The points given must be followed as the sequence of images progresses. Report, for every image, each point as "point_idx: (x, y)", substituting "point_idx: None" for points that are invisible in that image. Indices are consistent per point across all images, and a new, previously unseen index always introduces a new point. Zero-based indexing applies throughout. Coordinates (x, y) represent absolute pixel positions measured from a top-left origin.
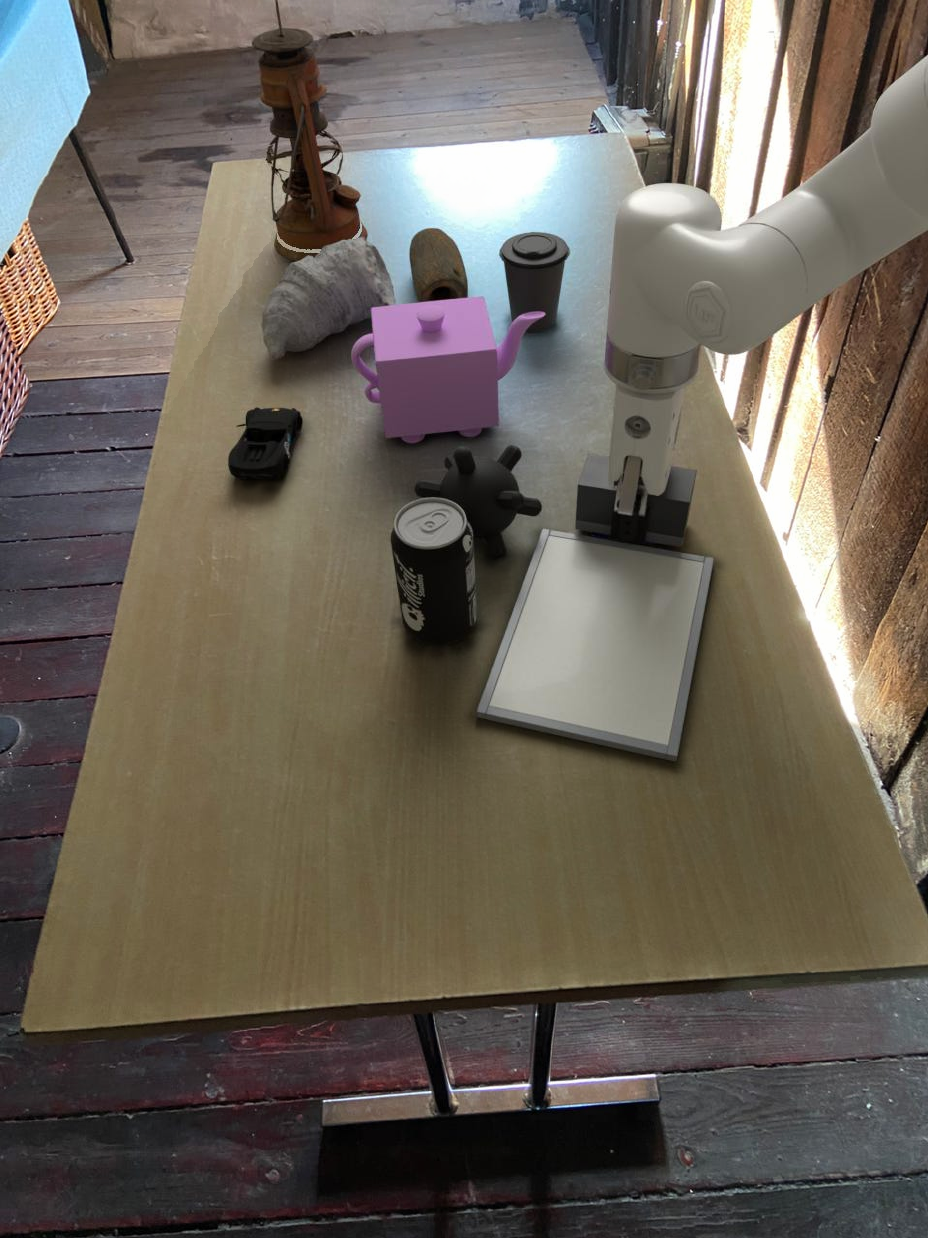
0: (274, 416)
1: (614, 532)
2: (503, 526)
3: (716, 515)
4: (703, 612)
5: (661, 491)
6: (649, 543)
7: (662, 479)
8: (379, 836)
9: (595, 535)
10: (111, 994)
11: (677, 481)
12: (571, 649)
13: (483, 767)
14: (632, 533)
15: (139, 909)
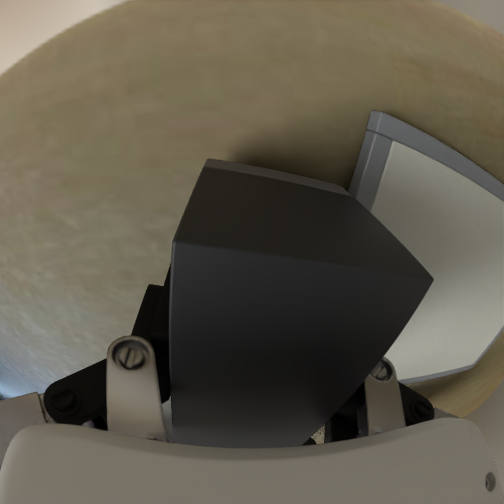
0: None
1: None
2: (312, 444)
3: (181, 78)
4: (487, 173)
5: (480, 432)
6: None
7: (496, 472)
8: (491, 370)
9: None
10: (481, 401)
11: (289, 331)
12: (466, 330)
13: (494, 347)
14: None
15: (464, 411)
